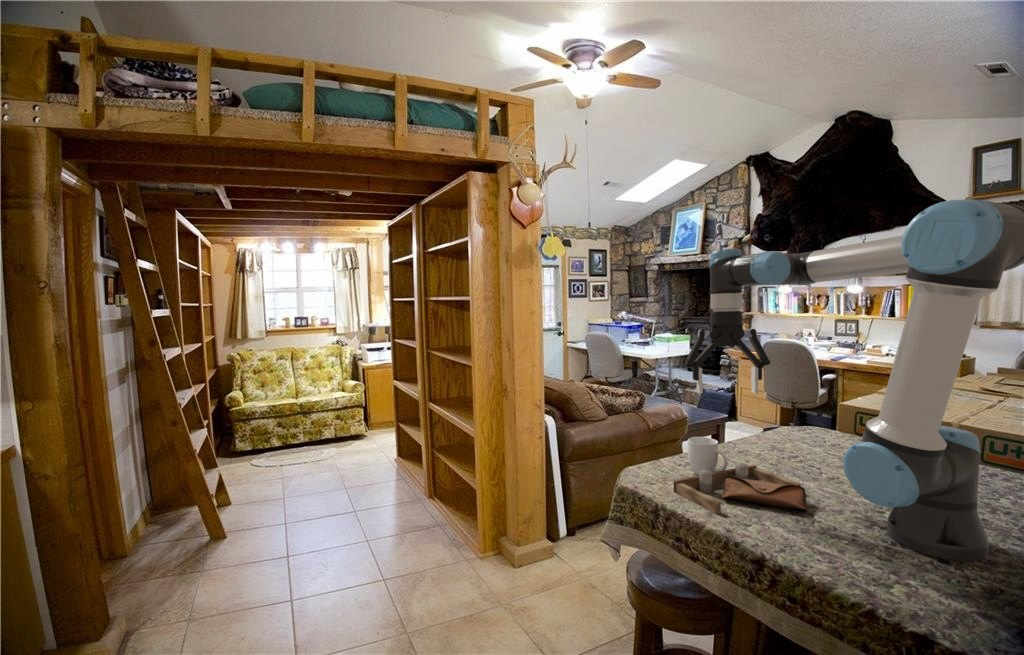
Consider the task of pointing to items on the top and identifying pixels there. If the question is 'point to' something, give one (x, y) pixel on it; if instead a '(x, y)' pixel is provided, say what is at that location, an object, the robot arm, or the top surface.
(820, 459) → the top surface
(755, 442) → the top surface
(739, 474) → the rail board
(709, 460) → the mug
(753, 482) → the sunglasses case
